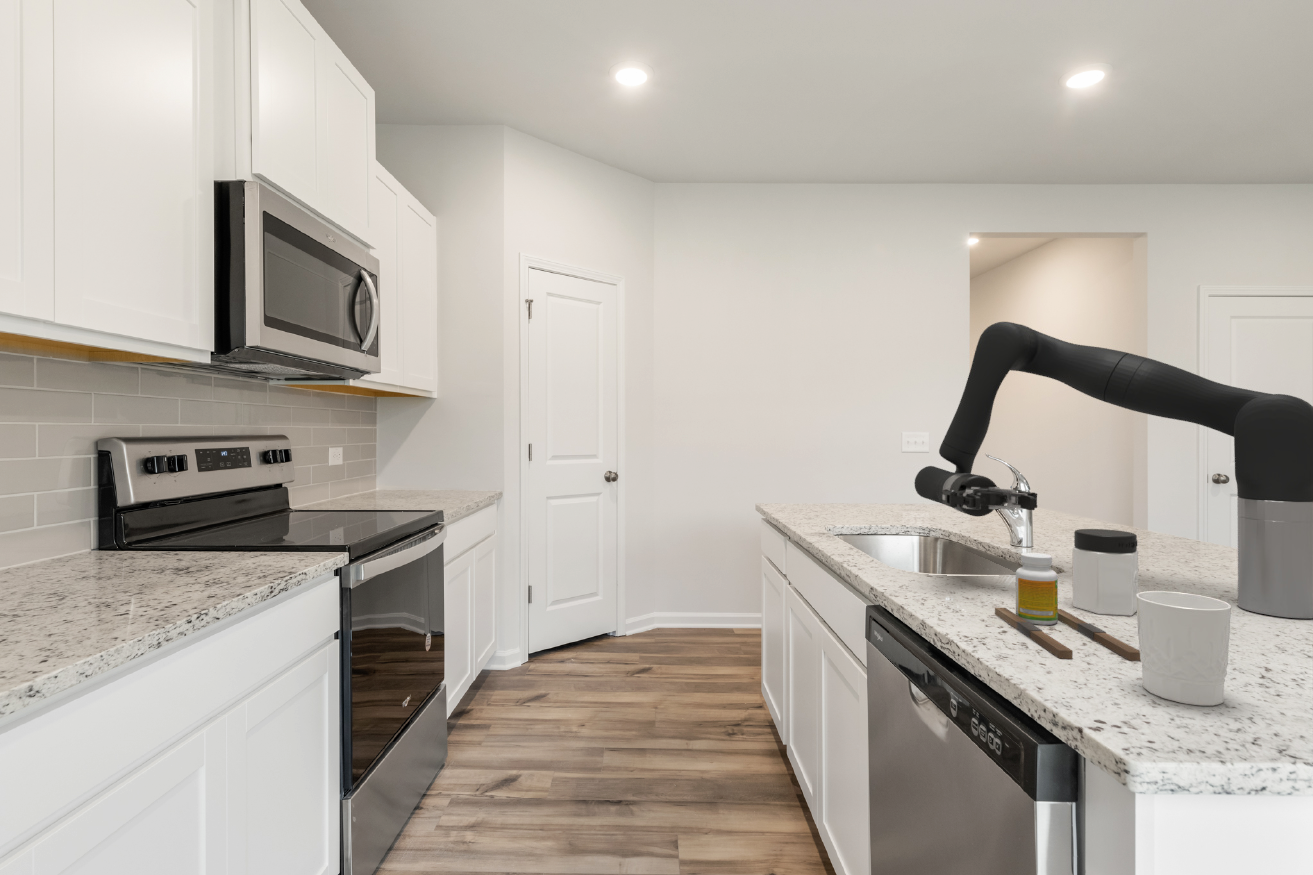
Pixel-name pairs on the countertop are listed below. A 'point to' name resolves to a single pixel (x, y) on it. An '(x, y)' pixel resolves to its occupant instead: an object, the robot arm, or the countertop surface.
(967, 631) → the countertop surface
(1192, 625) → the white cup
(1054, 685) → the countertop surface
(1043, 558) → the supplement bottle
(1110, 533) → the jar
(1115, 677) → the countertop surface
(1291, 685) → the countertop surface
